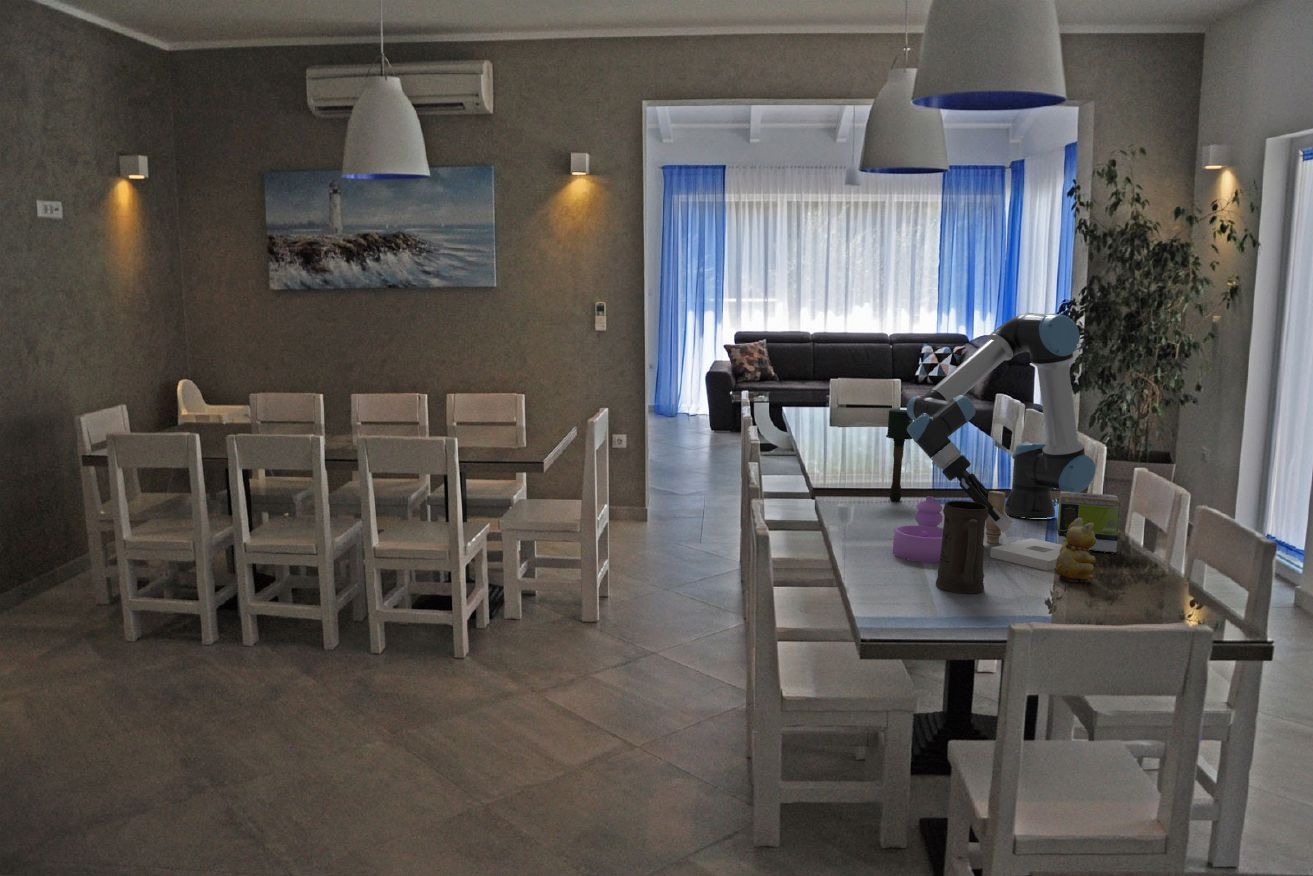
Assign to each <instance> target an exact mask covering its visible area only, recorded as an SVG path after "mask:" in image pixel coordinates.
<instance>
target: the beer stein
mask: <svg viewBox="0 0 1313 876" xmlns="http://www.w3.org/2000/svg"><path fill="white" fill-rule="evenodd" d="M942 512H943V517H944V519H943V527H942V528H943V537H942V546H941V554H940V563H938V564H939V565H938V568H937V570H936V571H937V578H936V580H935V586H936V587H937V588H938V589H941V590H943V591H944V592H945V591H946V592H949V593H955V594H962V595H963V594H964V595H965V594H966V595H971V594H972V595H974V594H980V593H982V592H984V591H985V585H984V584H985V583H984V578H985V574H984V550H985V544H984V539H985V529H986V519H987V518H988V515H989V513H988V507H987V506H986V505H983V504H981V503H975V502H974V501H970V500H969V501H967V500H950V501H946V502H945V503H944V506H943V507H942Z"/></svg>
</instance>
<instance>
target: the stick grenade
mask: <svg viewBox="0 0 1313 876" xmlns="http://www.w3.org/2000/svg"><path fill="white" fill-rule="evenodd" d="M887 421H888V422H887V434H886V435H885V437H886V438H888V439H892V441H893V452H892V453H893V455H892V456H893V467H892V477H891V478H892V480H891V481H892V482H891V486H890V493H889V500H890V501H891V502H892V501H893V502H900V501H901V499H902V485H901V481H902V467H903V466H902V465H903V464H902V463H903V458H904V449H905V442H906V440H913V439H912V437H911V436H910V434H909V433H908V432H907V427H908V426H909V425H910V424H911V423H912V422H913V421H914V420H912V419H911V418H910V417H909V416H908V414H907V409H894V408H893V409H889V410H888V420H887Z"/></svg>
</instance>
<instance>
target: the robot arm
mask: <svg viewBox="0 0 1313 876" xmlns="http://www.w3.org/2000/svg"><path fill="white" fill-rule="evenodd" d="M1080 337H1081V336H1080V331H1079V328H1078V325H1077V323H1076V322H1075V321H1074V320H1073V319H1072V318H1070V316H1067V315H1064V314H1059V313H1033V312H1026V313H1022V314H1018V315H1016V316H1013V317H1012V318H1010V319H1009V320H1007V321H1005V322H1004V323H1003V324H1001V325H999V326H998V327H997V328H996V329H994V330H993V331H992V332H991V333H990V334H989V335H987V338H986V342H985V343H983V344H982V345H981V346H980V347H979V348H978V349H976V351H974V352H973V353H972V354H971V355H970V356H969V357H967V358H966V359H965V360H964V361H963V362H962V363H961V364H959V365H958V366H957V367H956V368H955V369H953V370H952V371H951V372H949V374H947V376H945V377H943V379H942V380H940V381H939V382H938V383H937V384H936V385H935V386H933V387H932V389H930V390H929V391H928V392H927V393H925V394H924V395H919V396H918V395H916V396H914V397H912V398H911V399H909V401H908V403H907V404H906V410H907V414H908V416H909V417H910V418H911V419H912V420H913V422H912V423H911V424H910V425H909V426H908V427H907V432H908V433H909V434H910V436H911V437H912V439H911V440H913V441H914V443H916V444H917V445H918V447H919V448H920V449H921V450H922V451H923V452H924V453H925V454H926V456H928V457H929V459H930V460H931V461H932V463H931V465H933V466H936V468H937V469H939V470H942V474H943V475H944V476H945V478H946V479H947V480H948V481H951V482H952V481H953V480H955V479H957V480H958V481H959V486H960V489H962V490H963V491H964V492H965V493H966V494H967V495H968V496H969V498H970V499H971V500H972V502H975V503H981V504H983V505H986V506H987V507H988V513H989V515H988V516H989V517H990V518H991V519H992V521H993V522H994V523H995V524H996V525H997V526H998V527H999V529H1000V530H1001V533H1004V532H1005V531H1006V530H1008V529H1009V528H1011V527H1012V525H1011V524H1012V523H1013V522H1014V520H1013V519H1012V518H1011V517H1012V516H1014V517H1013V518H1017V517H1025V518H1047V517H1054V516H1055V517H1056V509H1055V504H1054V500H1053V496H1052V489H1054V490H1057V491H1064V492H1078V493H1082V492H1083V491H1085V490H1086V489H1087V488H1089V486H1090V485H1091V483H1092V482H1093V480H1094V478H1095V475H1096V463H1095V462H1094V460H1093V459H1092V458H1091V457H1090V456H1088V455H1086V452H1085V445H1084V443H1083V442H1082V441H1080V440H1078V431H1077V423H1076V415H1075V408H1074V397H1073V389H1072V384H1071V383H1072V382H1071V374H1070V368H1069V367H1070V366H1069V363H1070V362H1071V361H1072V359H1073V358H1074V354H1073V353H1074V352H1076V350H1077V348H1078V346H1077V345H1078V344H1080V343H1079V342H1080ZM1021 353H1029V356H1030V362H1031V364H1032V365H1034V367H1036V368H1037V369H1036V370H1037V376H1038V382H1039V393H1040V397H1041V398H1040V399H1041V406H1042V413H1043V415H1042V416H1043V421H1044V422H1043V423H1044V429H1045V430H1044V431H1045V436H1046V437H1045V438H1046V443H1045V442H1044V443H1042V442H1036V443H1035V442H1034V443H1033V442H1032V443H1031V442H1028V443H1027V442H1025V443H1024V442H1023V443H1019V444H1017V445H1016V447H1015V449H1014V450H1015V451H1014V454H1013V467H1012V482H1011V483H1012V484H1011V490H1010V493H1009V495H1008V497H1007V500H1006V501H1005V503H1004V515H1003V516H1002V515H1001V514H1000V513H999V512H998V510H997V509H996V508H993V506H992V505H991V504H990V502H989V501H988V493H989V490H988V489H987V488H986V487H985V485H984V484H983V483H982V482H981V481H980V480H979V479H978V477H977V476H976V475H975V474H974V473H970V472H969V471H968V470H967V469H968V468H969V467H970V466H971V462H970V461H969V460H968V459H967V457H966V456H965V455H963V454H961V453H962V452H961V450H960V448H958V447H957V446H956V445H955V443H954V442H953V441H952V440H951V439H950V438H949V437H950V436H951V435H953V434H954V433H955V432H956V431H958V430H959V429H961V428H962V427H963V426H964V425H966V424H967V423H968V422H969V421H970V420H971V419H972V418H973V417H975V415H976V407H975V405H974V404H973V402H972V400H971V399H969V398H968V397H967V396H966V395H965V394H966V393H968V392H969V391H970V390H972V389H973V388H974V387H975V386H976V385H977V384H978V383H980V381H982V380H983V379H985V377H986V376H988V375H989V374H990V373H991V372H992V371H993V370H994V369H996V368H997V367H998V366H999V365H1000V364H1001V363H1003V362H1004V361H1010V360H1012V359H1013V358H1014V357H1015V356H1017V355H1018V354H1021ZM1007 514H1008V515H1007ZM1009 515H1011V516H1009Z"/></svg>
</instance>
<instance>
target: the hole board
mask: <svg viewBox="0 0 1313 876" xmlns="http://www.w3.org/2000/svg"><path fill="white" fill-rule="evenodd" d="M1061 547H1062V545H1061V544H1057V542H1050V541H1047V540H1046V541H1045V540H1041V539H1038V538H1032V537H1030V538H1026V539H1022V540H1017V541H1013V542H1008V543H1005V544H1000V545H997V546H993V547H990V552H989V553H990V554H989V557H990V558H992V559H997V560H1000V561H1005V562H1009V563H1013V564H1018V565H1022V566H1026V567H1031V568H1034V569H1039V570H1042V571H1052V570H1055V568H1056V561H1057V558H1058V556H1059V554H1060V549H1061Z"/></svg>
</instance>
